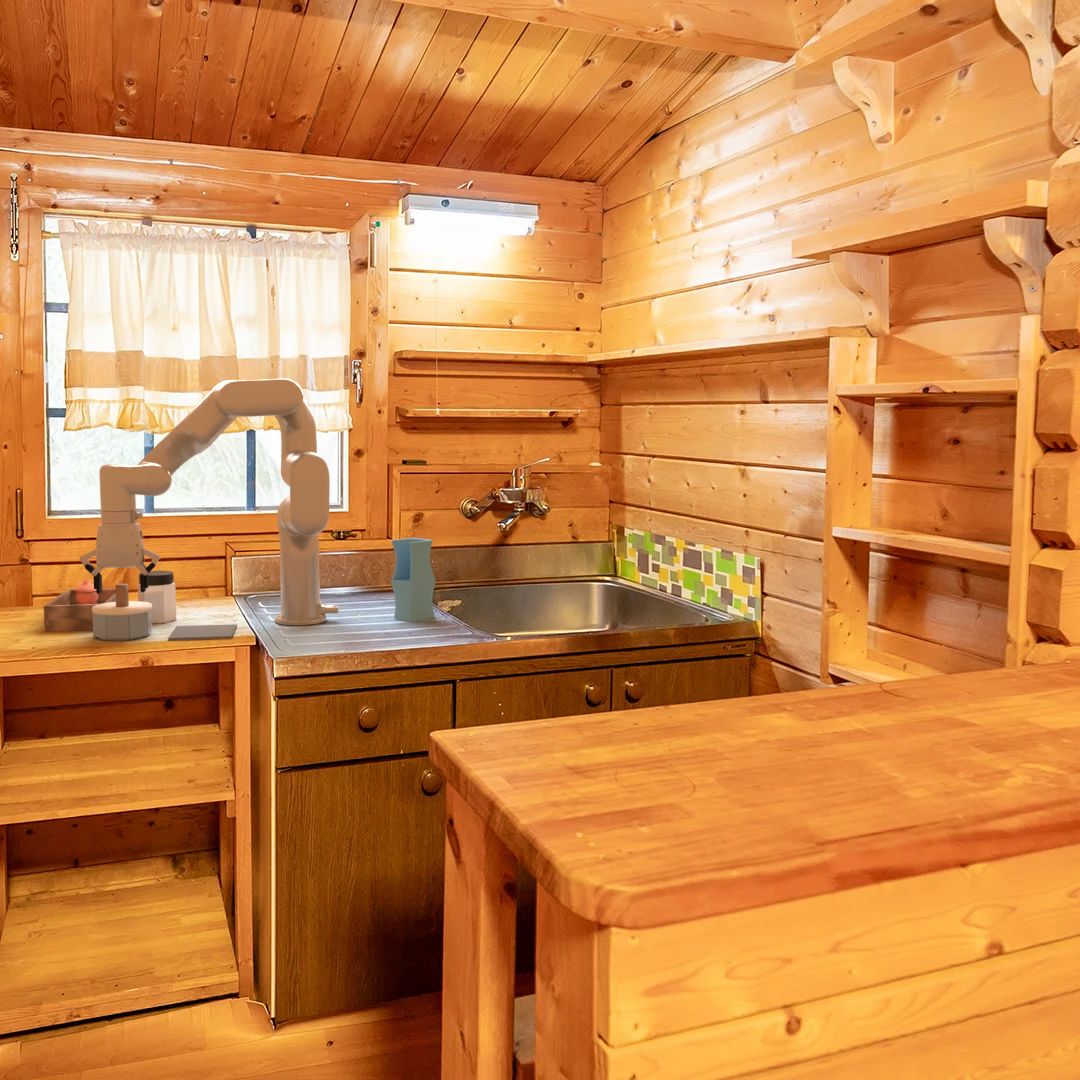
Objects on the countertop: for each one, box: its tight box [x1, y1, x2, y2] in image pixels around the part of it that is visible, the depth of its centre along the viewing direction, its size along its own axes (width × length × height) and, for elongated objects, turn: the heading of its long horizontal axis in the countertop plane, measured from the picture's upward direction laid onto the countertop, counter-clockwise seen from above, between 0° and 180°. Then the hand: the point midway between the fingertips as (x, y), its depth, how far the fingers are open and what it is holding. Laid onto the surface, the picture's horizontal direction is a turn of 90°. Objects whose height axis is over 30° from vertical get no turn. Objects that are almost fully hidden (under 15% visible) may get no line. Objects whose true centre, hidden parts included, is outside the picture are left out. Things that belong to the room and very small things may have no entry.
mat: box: [167, 623, 238, 641], centre depth 258 cm, size 14×14×1 cm
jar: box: [137, 570, 177, 624], centre depth 272 cm, size 9×8×12 cm
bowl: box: [92, 611, 153, 642], centre depth 254 cm, size 12×12×6 cm
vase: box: [390, 537, 436, 623], centre depth 278 cm, size 8×8×20 cm
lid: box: [92, 583, 152, 616], centre depth 253 cm, size 13×13×6 cm
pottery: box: [76, 579, 98, 605], centre depth 269 cm, size 18×10×10 cm, turn 11°
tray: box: [43, 588, 116, 632], centre depth 271 cm, size 14×24×6 cm, turn 11°
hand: (121, 591), depth 253 cm, fingers open, 9 cm apart
